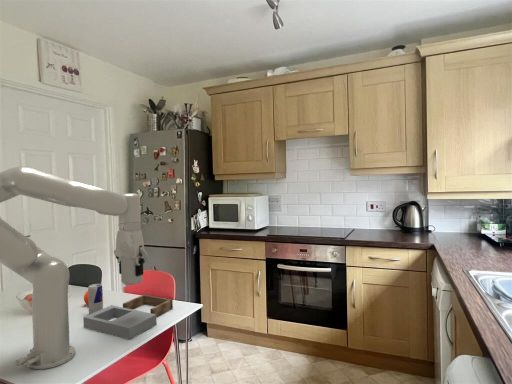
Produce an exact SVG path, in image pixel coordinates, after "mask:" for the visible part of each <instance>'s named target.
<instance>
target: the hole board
mask: <svg viewBox="0 0 512 384" xmlns="http://www.w3.org/2000/svg"><path fill="white" fill-rule="evenodd" d="M114 318H115V319H114ZM82 319H83V321H82V322H83V328H85V329H87V330H92V331H95V332H100V333H103V334H107V335H112V336H114V337H119V338H122V339H127V340H133V339H134V338H135V337H137V336H139V335H141V334H143V333H144V332H146V331H148V330H149V329H150V330H151V328H154V327H155V326H157V324H158V323H157V317H156V314H152V313H150V312H147V311H142V310H137V309H128V308H123V306H118V305H109V306H106V307H103V309H101V310H99V311H97V312H94V313H92V314H90V315H89V314H87V315H85V316H83V318H82ZM111 319H113V320H111Z"/></svg>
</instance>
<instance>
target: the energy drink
mask: <svg viewBox="0 0 512 384" xmlns="http://www.w3.org/2000/svg"><path fill="white" fill-rule="evenodd" d="M87 291H88V302H89V305H88V315H90V314H92V313H94V312H97V311H99V310H101V309H104V299H103V298H104V295H103V285H102V283H93V284H89V285H88V287H87Z"/></svg>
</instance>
